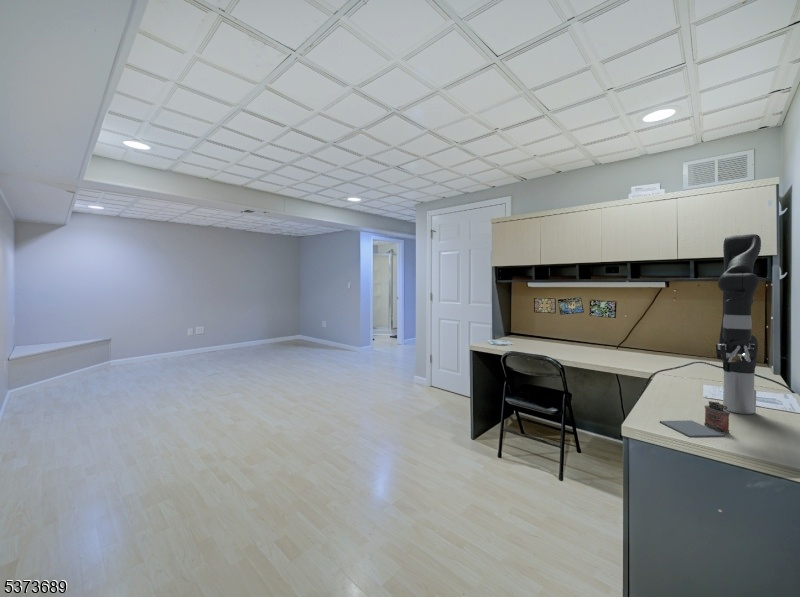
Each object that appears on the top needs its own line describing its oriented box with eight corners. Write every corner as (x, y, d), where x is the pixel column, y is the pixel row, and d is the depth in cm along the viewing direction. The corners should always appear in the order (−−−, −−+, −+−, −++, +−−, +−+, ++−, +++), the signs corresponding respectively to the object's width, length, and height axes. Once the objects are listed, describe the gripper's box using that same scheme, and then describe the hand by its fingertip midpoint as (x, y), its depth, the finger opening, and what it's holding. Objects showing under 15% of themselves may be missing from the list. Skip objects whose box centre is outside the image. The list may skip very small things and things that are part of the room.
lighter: (701, 424, 128) (702, 399, 128) (709, 424, 129) (710, 398, 128) (723, 433, 120) (724, 406, 120) (732, 433, 121) (732, 406, 120)
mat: (691, 421, 131) (691, 420, 131) (724, 436, 118) (725, 434, 118) (659, 422, 130) (659, 420, 130) (689, 437, 117) (689, 435, 117)
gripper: (744, 325, 128) (743, 369, 128) (708, 326, 127) (707, 369, 128) (766, 328, 120) (765, 374, 121) (728, 328, 120) (727, 374, 120)
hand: (735, 371), depth 124 cm, fingers open, 6 cm apart
